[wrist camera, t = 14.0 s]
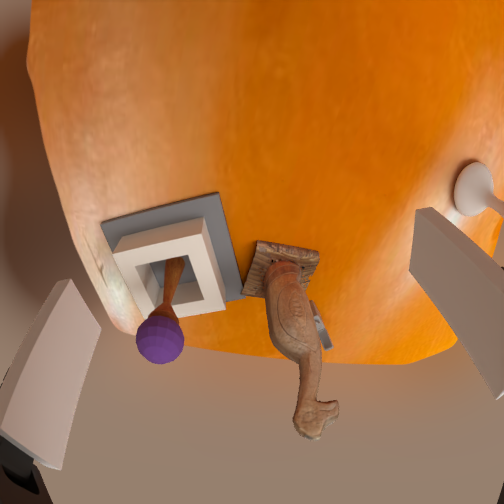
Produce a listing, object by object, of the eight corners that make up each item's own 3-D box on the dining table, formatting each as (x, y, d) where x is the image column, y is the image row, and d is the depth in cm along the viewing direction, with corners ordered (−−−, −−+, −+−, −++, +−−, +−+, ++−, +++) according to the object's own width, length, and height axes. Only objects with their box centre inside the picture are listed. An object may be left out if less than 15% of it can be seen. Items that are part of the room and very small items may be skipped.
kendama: (166, 281, 51) (147, 376, 34) (152, 253, 47) (122, 346, 30) (198, 273, 50) (190, 369, 33) (185, 243, 47) (168, 337, 30)
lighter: (304, 303, 57) (313, 333, 50) (312, 300, 57) (322, 329, 50) (316, 324, 61) (326, 353, 54) (324, 321, 60) (334, 349, 53)
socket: (102, 222, 45) (87, 241, 39) (218, 191, 44) (217, 208, 39) (144, 312, 55) (138, 336, 50) (245, 294, 55) (247, 319, 49)
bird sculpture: (299, 298, 57) (346, 455, 30) (239, 291, 55) (254, 463, 27) (317, 247, 51) (393, 411, 24) (251, 238, 49) (283, 422, 22)
